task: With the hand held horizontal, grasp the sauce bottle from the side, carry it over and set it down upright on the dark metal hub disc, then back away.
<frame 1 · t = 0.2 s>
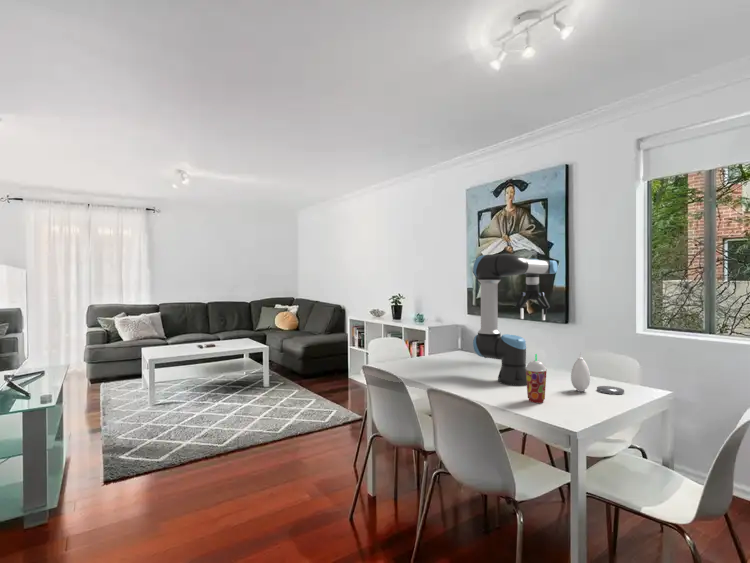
hand: (532, 319, 258), 28 cm above the table, tool pointing down, fingers open, 13 cm apart
smoothie: (536, 401, 180), on the table
hub disc: (610, 391, 197), on the table
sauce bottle: (580, 391, 197), on the table
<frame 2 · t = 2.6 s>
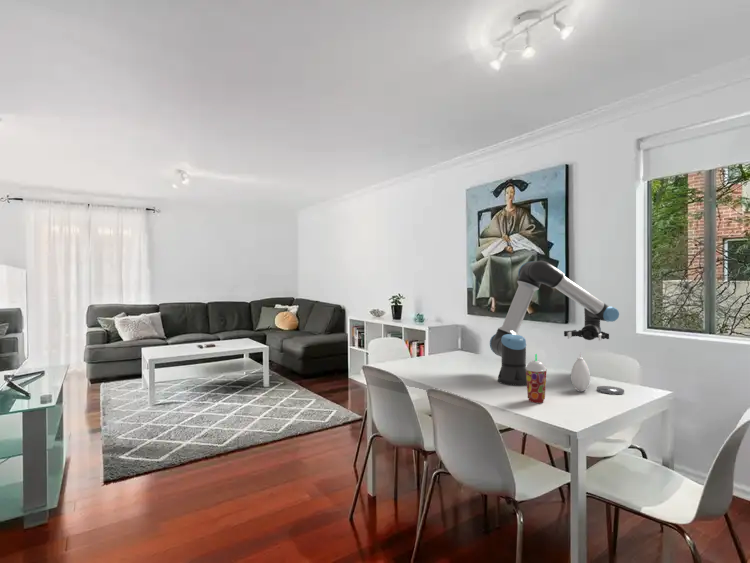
hand: (583, 336, 206), 24 cm above the table, tool horizontal, fingers open, 13 cm apart
nothing on the table moved.
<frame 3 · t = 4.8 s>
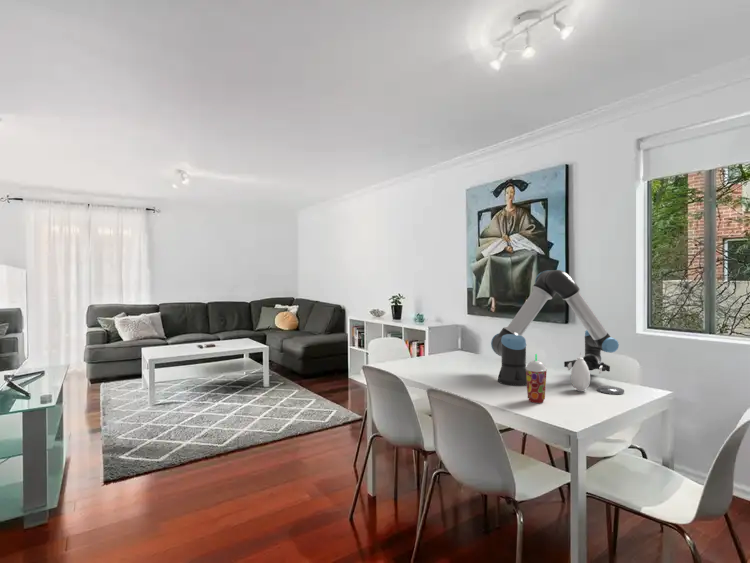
hand: (584, 369, 203), 9 cm above the table, tool horizontal, fingers open, 13 cm apart
nothing on the table moved.
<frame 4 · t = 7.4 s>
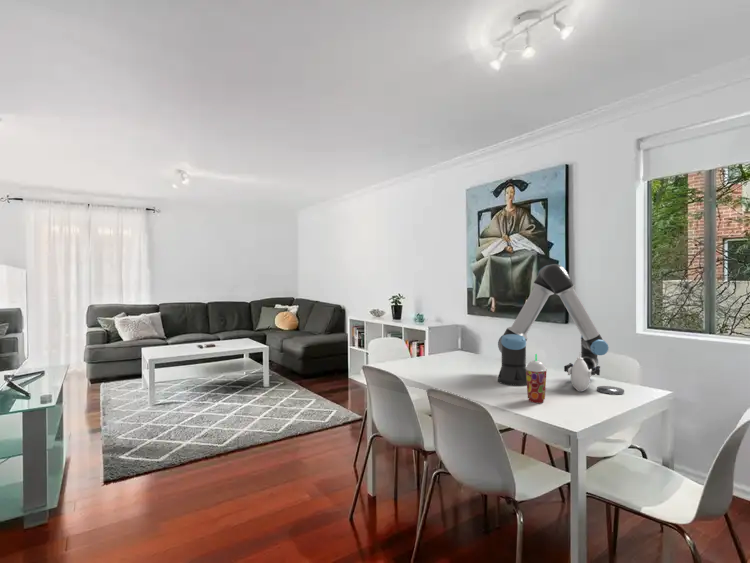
hand: (578, 373, 193), 9 cm above the table, tool horizontal, fingers closed on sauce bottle, 8 cm apart
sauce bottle: (580, 391, 197), on the table, touching gripper
everything else where it was.
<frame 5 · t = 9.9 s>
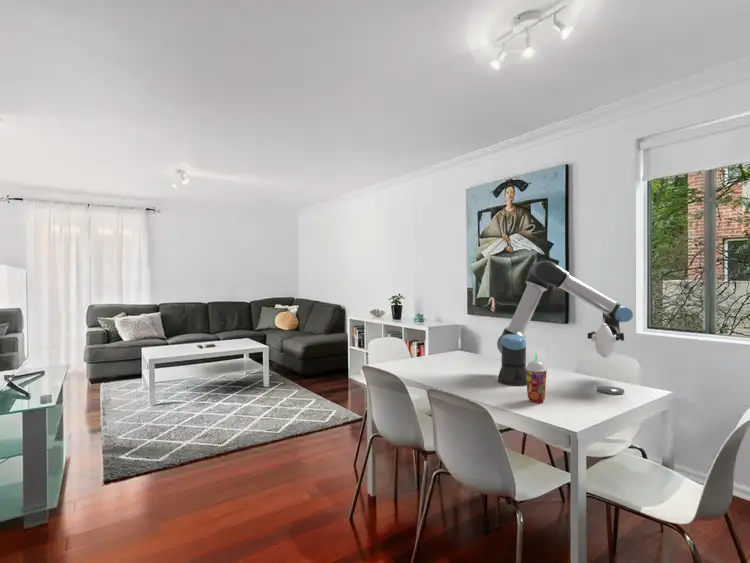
hand: (603, 338, 193), 25 cm above the table, tool horizontal, fingers closed on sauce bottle, 8 cm apart
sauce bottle: (604, 357, 197), point 16 cm above the table, touching gripper
everything else where it was.
when the fingers open (12 cm above the table, at t = 12.8 s): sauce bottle drops 2 cm, resting on hub disc.
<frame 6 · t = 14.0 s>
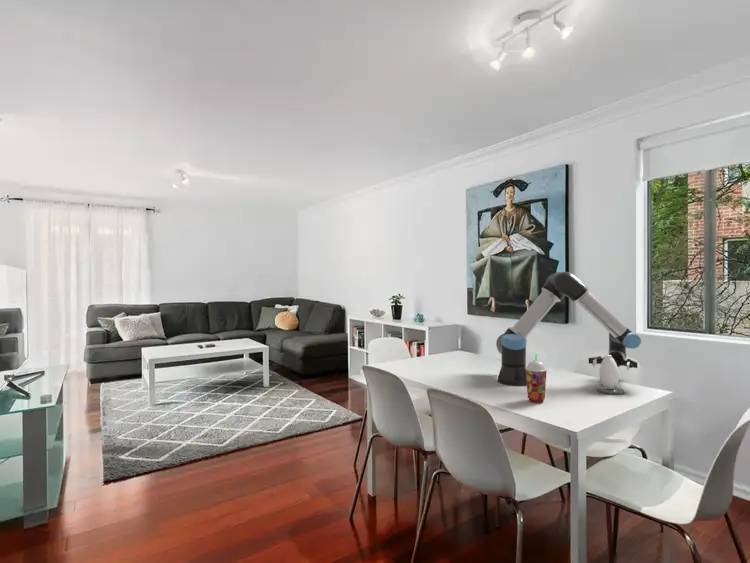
hand: (610, 365, 195), 12 cm above the table, tool horizontal, fingers open, 13 cm apart
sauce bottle: (609, 389, 197), point 1 cm above the table, touching hub disc
everything else where it was.
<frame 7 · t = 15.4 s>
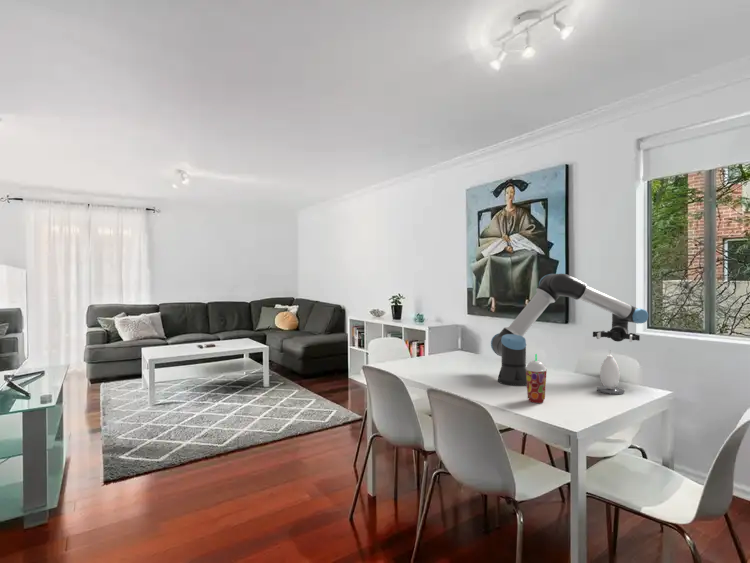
hand: (614, 337, 205), 24 cm above the table, tool horizontal, fingers open, 13 cm apart
nothing on the table moved.
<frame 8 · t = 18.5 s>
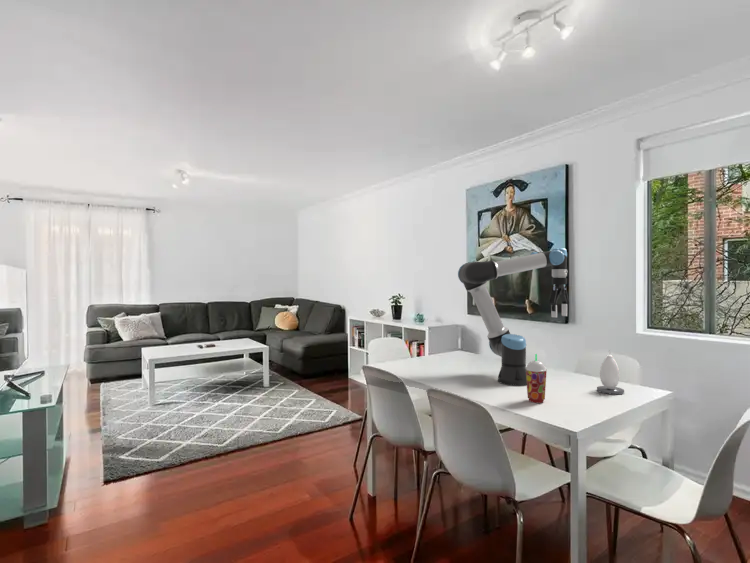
hand: (559, 316, 230), 32 cm above the table, tool pointing down, fingers open, 13 cm apart
nothing on the table moved.
at the end: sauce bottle 0.3 cm from the hub disc (horizontally); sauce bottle tilted 0°; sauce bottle point 1.0 cm above the table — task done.
